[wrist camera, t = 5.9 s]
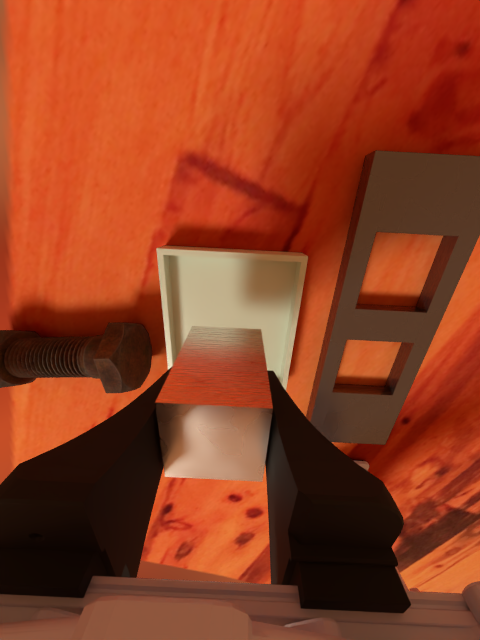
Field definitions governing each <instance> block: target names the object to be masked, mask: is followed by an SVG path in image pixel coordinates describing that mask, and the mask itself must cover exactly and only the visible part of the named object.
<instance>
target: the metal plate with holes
mask: <svg viewBox="0 0 480 640" xmlns="http://www.w3.org/2000/svg"><path fill="white" fill-rule="evenodd" d="M376 232H389V233H407V234H426V235H444V236H443V239H442V242H441V244H440V247H439V249H438V252H437V254H436V257H435V259H434V262H433V265H432V267H431V270H430V272H429V275H428V277H427V280H426V283H425V285H424V288H423V290H422V293H421V295H420V298H419V300H418V303H417V306H416V307H406V306H387V305H368V304H357V300H358V297H359V293H360V289H361V286H362V282H363V278H364V275H365V271H366V267H367V264H368V260H369V257H370V253H371V249H372V246H373V242H374V238H375V235H376ZM479 235H480V156H466V155H447V154H429V153H411V152H393V151H374V152H372V153H370V154H368V155H366V156H365V161H364V165H363V170H362V174H361V178H360V183H359V187H358V191H357V196H356V200H355V205H354V209H353V213H352V218H351V222H350V227H349V231H348V235H347V240H346V244H345V248H344V253H343V257H342V262H341V266H340V270H339V275H338V279H337V284H336V288H335V292H334V297H333V301H332V306H331V310H330V314H329V319H328V323H327V327H326V332H325V336H324V341H323V345H322V349H321V354H320V358H319V363H318V367H317V371H316V376H315V380H314V384H313V389H312V393H311V398H310V402H309V406H308V411H307V415H306V418H307V419H308V420H309V421H310V422H311V423H312V424H313V426H314V427H315V428H316V429H317V430H318V431H319V432H320V433H321V434H322V435H323V436H325V437H326V438H327V439H328V440H329V441H330V442H343V443H363V444H382V445H385V444H386V441H387V439H388V437H389V435H390V433H391V430H392V428H393V426H394V424H395V422H396V419H397V417H398V415H399V413H400V410H401V408H402V406H403V404H404V402H405V399H406V397H407V395H408V393H409V390H410V388H411V386H412V384H413V382H414V379H415V377H416V375H417V373H418V371H419V368H420V366H421V364H422V362H423V359H424V357H425V355H426V353H427V351H428V348H429V346H430V344H431V342H432V340H433V337H434V335H435V333H436V331H437V328H438V326H439V324H440V322H441V320H442V317H443V315H444V313H445V311H446V308H447V306H448V304H449V302H450V300H451V297H452V295H453V293H454V291H455V289H456V286H457V284H458V282H459V280H460V277H461V275H462V273H463V271H464V269H465V266H466V264H467V262H468V260H469V258H470V255H471V253H472V251H473V249H474V246H475V244H476V242H477V240H478V238H479ZM347 339H350V340H369V341H388V342H402V344H401V346H400V349H399V352H398V354H397V357H396V359H395V362H394V364H393V367H392V369H391V372H390V375H389V377H388V380H387V382H386V385H385V386H367V385H348V384H335V380H336V377H337V373H338V369H339V366H340V362H341V358H342V355H343V351H344V347H345V344H346V340H347Z"/></svg>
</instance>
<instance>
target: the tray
mask: <svg viewBox="0 0 480 640" xmlns="http://www.w3.org/2000/svg"><path fill="white" fill-rule="evenodd" d="M157 259H158V269H159V279H160V290H161V300H162V310H163V321H164V331H165V341H166V351H167V362H168V370H169V369H170V368H171V367H172V366H173V364H174V362H175V360H176V358H177V356H178V354H179V352H180V350H181V348H182V346H183V344H184V342H185V340H186V338H187V336H188V334H189V331H190V329H191V327H192V326H206V327H225V328H244V329H261V331H262V338H263V345H264V352H265V358H266V365H267V370H270V371H274V372H275V374H276V376H277V378H278V379H279V381H280V383H281V384H282V386H283V387H284V389H285V390H286V387H287V381H288V375H289V369H290V363H291V357H292V351H293V345H294V339H295V333H296V327H297V321H298V315H299V309H300V303H301V297H302V291H303V285H304V280H305V274H306V268H307V262H308V256H307V255H305V254H303V253H299V252H280V251H262V250H243V249H224V248H206V247H187V246H168V245H165V246H162V247H159V248H157Z"/></svg>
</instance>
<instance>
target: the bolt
mask: <svg viewBox="0 0 480 640" xmlns="http://www.w3.org/2000/svg"><path fill="white" fill-rule="evenodd" d="M151 359H152V347H151V343H150V338H149V335H148V333H147V331H146V329H145V328H144V327H143V325H141V324H136V323H108V326H107V328H106V330H105V333H104V335H98V336H93V337H45V338H43V337H40V336H39V335H38V334H37V333H36V332H33V331H14V330H0V388H2V387H9V386H16V385H22V384H27V383H31V382H33V381H34V380H35V379H36V378H42V377H43V378H45V377H47V378H49V377H52V378H53V377H92V378H100V379H101V381H102V384H103V387H104V389H105V392H106V393H123V392H128V391H132V390H135V389H137V388H140V387H141V385H142V384H143V382H144V381H145V379H146V378H147V376H148V374H149V372H150V368H151Z"/></svg>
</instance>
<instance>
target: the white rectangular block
mask: <svg viewBox="0 0 480 640" xmlns="http://www.w3.org/2000/svg"><path fill="white" fill-rule="evenodd" d="M155 406H156V413H157V421H158V428H159V435H160V442H161V450H162V457H163V464H164V472H165V477H181V478H201V479H221V480H241V481H261V482H262V481H263V474H264V467H265V460H266V453H267V446H268V439H269V432H270V425H271V419H272V412H273V406H272V399H271V392H270V385H269V379H268V372H267V365H266V358H265V352H264V345H263V338H262V331H261V329H244V328H225V327H206V326H192V327H191V329H190V331H189V334H188V336H187V338H186V340H185V342H184V344H183V346H182V348H181V350H180V352H179V354H178V356H177V358H176V360H175V362H174V364H173V367H172V369H171V371H170V373H169V375H168V377H167V379H166V381H165V383H164V385H163V387H162V389H161V391H160V393H159V395H158V397H157V399H156V402H155Z"/></svg>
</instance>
